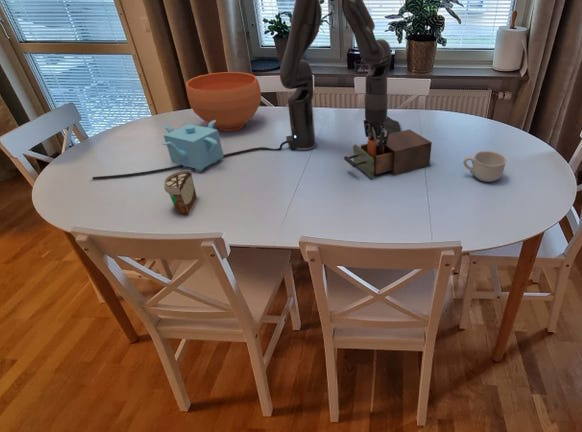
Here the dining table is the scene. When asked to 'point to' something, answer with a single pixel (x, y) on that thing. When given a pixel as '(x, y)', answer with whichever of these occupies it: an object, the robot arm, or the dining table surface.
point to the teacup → (487, 165)
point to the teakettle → (194, 145)
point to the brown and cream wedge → (181, 191)
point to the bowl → (224, 98)
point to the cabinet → (408, 151)
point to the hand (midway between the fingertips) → (375, 152)
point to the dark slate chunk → (391, 126)
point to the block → (372, 147)
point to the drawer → (371, 160)
